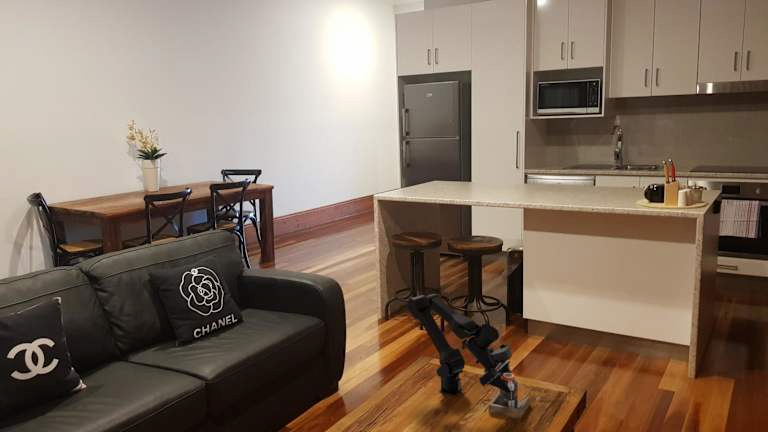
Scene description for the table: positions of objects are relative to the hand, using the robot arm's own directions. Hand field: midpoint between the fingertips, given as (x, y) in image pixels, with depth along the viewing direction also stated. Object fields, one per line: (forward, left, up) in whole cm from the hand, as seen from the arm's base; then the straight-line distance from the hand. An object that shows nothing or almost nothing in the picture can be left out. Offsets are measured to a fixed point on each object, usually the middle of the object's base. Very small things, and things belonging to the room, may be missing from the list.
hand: (512, 388), depth 203 cm
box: (-1, 0, -8) cm, 8 cm away
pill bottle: (-1, 0, -7) cm, 7 cm away
